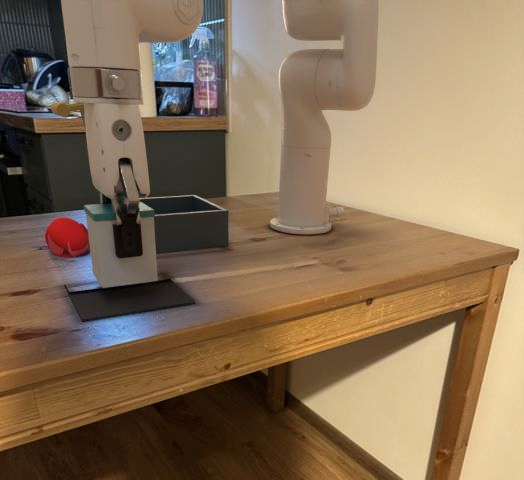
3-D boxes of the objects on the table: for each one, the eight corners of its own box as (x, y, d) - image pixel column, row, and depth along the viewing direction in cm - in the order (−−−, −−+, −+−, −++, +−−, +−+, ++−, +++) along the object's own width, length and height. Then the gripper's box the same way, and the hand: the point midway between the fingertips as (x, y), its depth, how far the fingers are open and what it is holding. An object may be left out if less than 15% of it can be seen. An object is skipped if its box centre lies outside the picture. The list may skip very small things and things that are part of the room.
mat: (163, 273, 74) (163, 271, 74) (195, 303, 64) (195, 301, 64) (64, 286, 68) (64, 284, 68) (82, 321, 58) (82, 319, 58)
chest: (196, 230, 98) (195, 194, 95) (228, 250, 86) (228, 210, 83) (111, 238, 91) (107, 200, 88) (133, 260, 79) (129, 217, 76)
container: (146, 268, 68) (141, 201, 64) (158, 281, 64) (154, 210, 60) (92, 275, 65) (83, 205, 61) (101, 288, 61) (92, 214, 57)
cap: (101, 257, 80) (96, 220, 77) (65, 265, 76) (59, 225, 73) (76, 247, 85) (71, 211, 82) (42, 253, 81) (35, 216, 78)
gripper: (165, 90, 50) (173, 265, 58) (122, 90, 63) (134, 232, 71) (87, 87, 47) (108, 273, 55) (59, 87, 60) (79, 236, 68)
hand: (122, 248), depth 63 cm, fingers closed on container, 5 cm apart
